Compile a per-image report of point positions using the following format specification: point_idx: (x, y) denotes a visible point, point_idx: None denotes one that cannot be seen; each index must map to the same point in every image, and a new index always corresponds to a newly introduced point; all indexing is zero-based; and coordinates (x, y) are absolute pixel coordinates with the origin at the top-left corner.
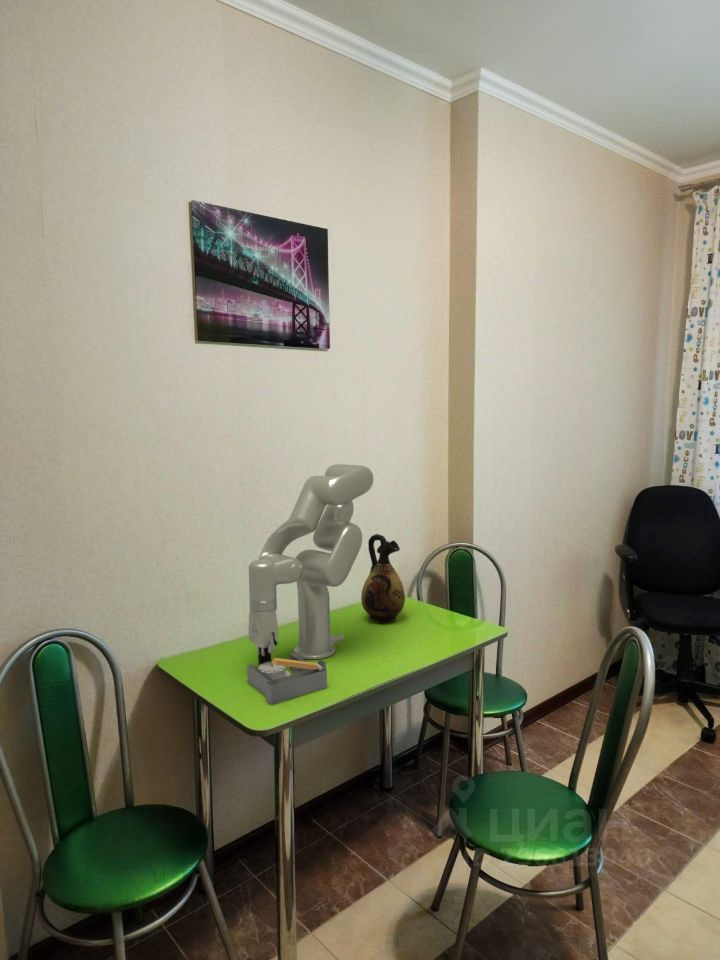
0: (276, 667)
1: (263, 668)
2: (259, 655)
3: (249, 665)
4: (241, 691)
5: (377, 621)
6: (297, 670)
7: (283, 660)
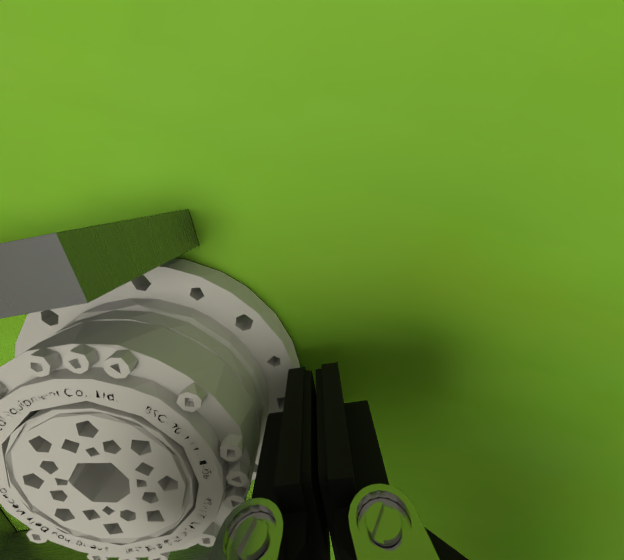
0: (34, 504)
1: (42, 399)
2: (328, 477)
3: (21, 265)
4: (18, 106)
5: None
6: None
7: None
